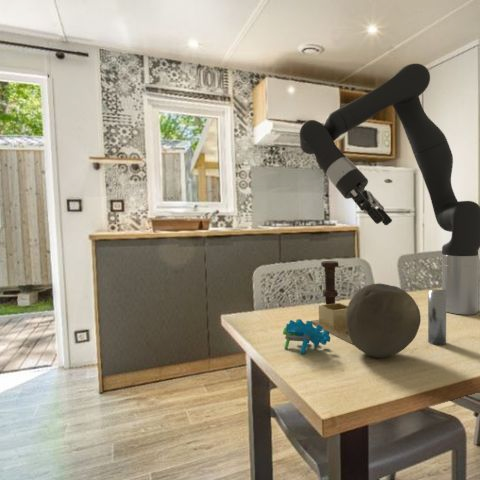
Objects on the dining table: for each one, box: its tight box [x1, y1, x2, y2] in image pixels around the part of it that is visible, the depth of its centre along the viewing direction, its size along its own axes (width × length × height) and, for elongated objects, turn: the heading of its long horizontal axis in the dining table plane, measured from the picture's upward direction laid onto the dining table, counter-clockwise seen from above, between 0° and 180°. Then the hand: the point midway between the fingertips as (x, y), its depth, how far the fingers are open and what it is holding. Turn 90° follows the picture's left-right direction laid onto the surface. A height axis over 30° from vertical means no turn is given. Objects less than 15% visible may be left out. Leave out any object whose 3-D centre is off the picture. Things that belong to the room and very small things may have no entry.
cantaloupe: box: [346, 282, 421, 359], centre depth 73 cm, size 14×14×15 cm
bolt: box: [320, 260, 339, 305], centre depth 115 cm, size 6×5×15 cm
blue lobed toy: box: [282, 318, 331, 355], centre depth 77 cm, size 11×6×10 cm
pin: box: [427, 288, 447, 346], centre depth 79 cm, size 4×4×12 cm
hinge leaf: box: [310, 302, 354, 345], centre depth 91 cm, size 12×18×5 cm, turn 20°
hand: (385, 222), depth 90 cm, fingers open, 8 cm apart
